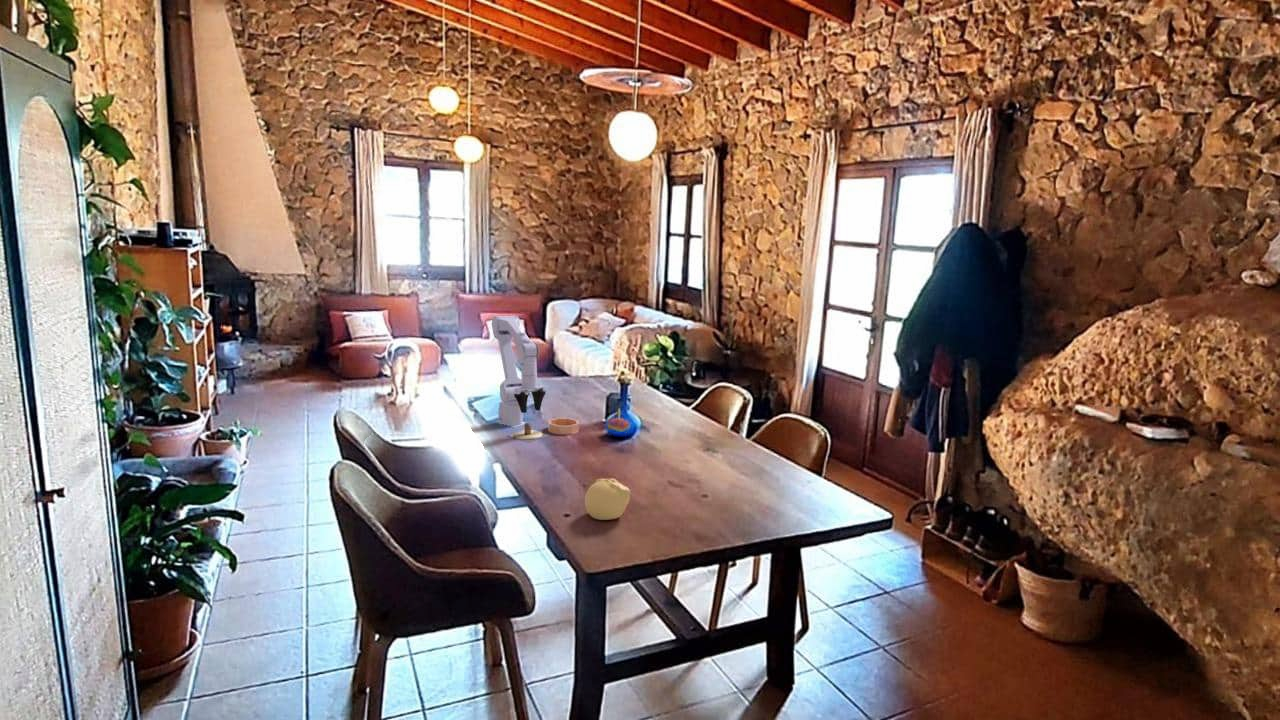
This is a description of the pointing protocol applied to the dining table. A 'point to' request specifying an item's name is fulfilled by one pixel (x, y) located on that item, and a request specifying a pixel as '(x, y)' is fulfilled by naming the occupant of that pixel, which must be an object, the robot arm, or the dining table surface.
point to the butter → (607, 499)
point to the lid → (527, 433)
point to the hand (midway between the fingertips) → (530, 411)
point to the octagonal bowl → (563, 426)
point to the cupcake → (619, 423)
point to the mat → (534, 439)
